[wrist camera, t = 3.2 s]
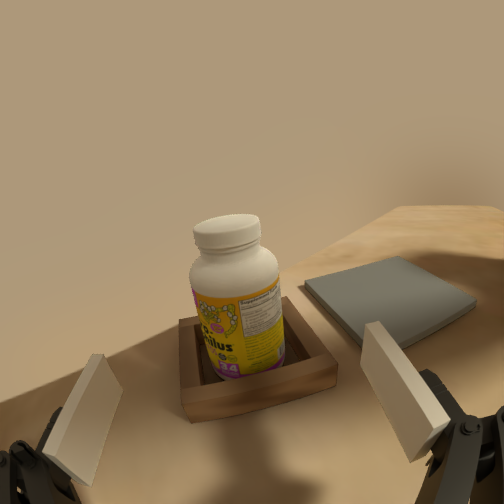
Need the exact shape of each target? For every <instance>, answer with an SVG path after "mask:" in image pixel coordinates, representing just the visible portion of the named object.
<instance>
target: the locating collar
mask: <svg viewBox="0 0 504 504" xmlns="http://www.w3.org/2000/svg"><path fill="white" fill-rule="evenodd" d="M281 305H282V316H283V328H284V335H285V336H286V338H287V340H288V342H289V343H290V345H291V347H292V348H293V350H294V352H295V353H296V355H297V357H298V358H299V360H300V362H297V363H294V364H291V365H287V366H284V367H280V368H277V369H273V370H269V371H265V372H261V373H258V374H254V375H249V376H245V377H241V378H237V379H232V380H228V381H223V382H218V383H213V384H208V385H205V382H204V375H203V368H202V361H201V353H200V346H199V344H204V343H205V340H204V336H203V332H202V329H201V325H200V321H199V317H198V316H195V317H190V318H184V319H179V360H180V385H181V403H182V406H183V408H184V410H185V412H186V414H187V416H188V418H189V420H190V422H191V423H197V422H203V421H209V420H215V419H220V418H225V417H230V416H235V415H239V414H243V413H248V412H252V411H256V410H260V409H264V408H268V407H271V406H275V405H278V404H282V403H285V402H289V401H292V400H295V399H298V398H301V397H304V396H307V395H310V394H313V393H316V392H319V391H322V390H325V389H328V388H330V387H333V386H336V379H337V369H338V363H337V362H336V360H335V359H334V358H333V357H332V355H331V354H330V353H329V351H328V350H327V349H326V347H325V346H324V345H323V343H322V342H321V341H320V339H319V338H318V337H317V335H316V334H315V333H314V332H313V330H312V329H311V328H310V326H309V325H308V324H307V322H306V321H305V320H304V318H303V317H302V316H301V314H300V313H299V312H298V310H297V309H296V308H295V307H294V305H293V304H292V303H291V301H290V300H289V299H288V297H287V296H285V297H281Z"/></svg>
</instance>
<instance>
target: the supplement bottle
mask: <svg viewBox="0 0 504 504" xmlns="http://www.w3.org/2000/svg"><path fill="white" fill-rule="evenodd" d="M193 233H194V239H195V244H196V245H197V246H198V249H199V250H200V253H201V256H200V257H198V258H197V259H196V261H195V262H194V263H193V264H192V267H191V269H190V273H189V279H190V284H191V288H192V292H193V296H194V300H195V304H196V309H197V313H198V317H199V321H200V325H201V329H202V332H203V336H204V340H205V343H206V347H207V351H208V354H209V358H210V361H211V364H212V367H213V369H214V371H215V372H216V373H217V375H218V376H220V377H221V378H222V379H224V380H226V381H228V380H232V379H237V378H241V377H245V376H249V375H254V374H258V373H261V372H265V371H269V370H273V369H277V368H280V367H282V365H283V363H284V360H285V341H284V328H283V316H282V305H281V293H280V281H279V269H278V263H277V260H276V258H275V256H274V255H273V254H272V253H271V252H270V251H269V250H267V249H266V248H264V247H261V246H260V245H259V240H260V236H261V228H260V221H259V218H258V217H257V216H255V215H251V214H233V215H226V216H220V217H216V218H212V219H209V220H206V221H203V222H201V223H198V224H197V225H195V227H194V228H193Z"/></svg>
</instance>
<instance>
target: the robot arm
mask: <svg viewBox="0 0 504 504" xmlns="http://www.w3.org/2000/svg"><path fill="white" fill-rule="evenodd" d="M360 366H361V368H362V370H363V372H364V373H365V375H366V377H367V379H368V381H369V383H370V385H371V387H372V388H373V390H374V392H375V394H376V396H377V398H378V400H379V402H380V404H381V406H382V408H383V409H384V411H385V413H386V415H387V417H388V419H389V421H390V423H391V425H392V427H393V429H394V431H395V433H396V435H397V437H398V439H399V441H400V443H401V445H402V447H403V449H404V452H405V454H406V456H407V458H408V460H409V462H410V463H411V462H413V461H416V460H418V459H420V458H422V457H424V456H426V454H427V453H428V452H429V451H430V449H431V451H432V453H433V455H432V456H431V458H430V459H429V460H428V461H427V463H426V465H425V466H428V465H429V467H428V470H427V473H426V476H425V479H424V482H423V484H422V487H421V490H420V492H419V495H418V497H417V499H416V502H415V504H468V502H469V498H470V504H504V406H502V407H501V408H500V409H499V410H498V411H497V413H496V414H495V415H491V416H488V417H484V418H479V419H478V418H477V417H476V416H473V415H466V414H465V413H464V411H463V410H462V409H461V407H460V406H459V405H458V403H457V402H456V400H455V399H454V398H453V396H452V395H451V394H450V392H449V391H447V388H446V387H445V385H444V384H442V381H441V380H440V379H439V378H438V376H437V375H436V374H435V373H433V372H431V371H430V370H428V369H425V370H423V371H420V372H417V370H416V369H415V368H414V366H413V365H412V363H411V362H410V361H409V359H408V358H407V357H406V355H405V354H404V353H403V351H402V350H401V349H400V347H399V346H398V345H397V343H396V342H395V341H394V339H393V338H392V337H391V336H390V334H389V333H388V332H387V330H386V329H385V328H384V326H383V325H382V324H381V323H380V321H376V322H372V323H368V324H365V331H364V339H363V347H362V354H361V361H360ZM122 393H123V389H122V387H121V386H120V384H119V382H118V380H117V379H116V377H115V375H114V373H113V371H112V369H111V368H110V366H109V364H108V362H107V360H106V358H105V356H104V354H92V356H91V358H90V359H89V361H88V363H87V364H86V366H85V368H84V370H83V371H82V373H81V375H80V377H79V379H78V380H77V382H76V384H75V386H74V388H73V389H72V391H71V393H70V395H69V397H68V399H67V401H66V403H65V405H64V407H59V408H58V409H57V410H56V411H55V412H54V413H53V415H52V417H51V419H50V423H48V425H47V427H46V428H47V429H45V431H44V433H43V435H42V437H41V439H40V442H39V444H38V446H37V448H36V450H35V451H34V450H33V449H32V448H31V447H30V446H29V445H28V444H27V443H26V442H25V441H22V440H19V441H16V442H14V443H13V444H12V445H11V446H10V449H9V454H8V453H7V452H6V451H0V504H82V503H81V501H80V499H79V497H78V495H77V493H76V490H75V488H74V486H73V484H72V483H71V482H70V480H71V478H72V479H74V480H75V481H76V482H78V483H79V484H83V485H86V486H89V487H92V484H93V480H94V477H95V473H96V470H97V466H98V463H99V460H100V457H101V453H102V450H103V447H104V444H105V441H106V438H107V435H108V432H109V429H110V426H111V423H112V421H113V418H114V415H115V412H116V409H117V407H118V404H119V401H120V398H121V396H122ZM429 463H430V464H429ZM17 487H19V488H20V489H21V493H19V492H18V491H17Z"/></svg>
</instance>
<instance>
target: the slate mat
mask: <svg viewBox="0 0 504 504" xmlns="http://www.w3.org/2000/svg"><path fill="white" fill-rule="evenodd" d="M305 288H306V289H307V290H308V291H309V292H310V293H311V294H312V295H313V296H314V298H315V299H316V300H317V301H318V302H319V303H320V304H321V305H322V306H323V307H324V308H325V309H326V310H327V311H328V312H329V314H330V315H331V316H332V317H333V318H334V319H335V320H336V321H337V322H338V323H339V324H340V325H341V326H342V327H343V329H344V330H345V331H346V332H347V333H348V334H349V335H350V336H351V337H352V338H353V339H354V340H355V341H356V343H357V344H358V345H359V346H360V347H361V348H362V347H363V339H364V331H365V324H368V323H372V322H376V321H380V323H381V324H382V325H383V326H384V328H385V329H386V330H387V332H388V333H389V334H390V336H391V337H392V338H393V339H394V341H395V342H396V343H397V345H398V346H399V347H400V349H401V350H402V349H404V348H406V347H408V346H410V345H412V344H414V343H415V342H417V341H419V340H421V339H423V338H425V337H427V336H428V335H430V334H432V333H434V332H436V331H437V330H439V329H441V328H442V327H444V326H446V325H448V324H449V323H451V322H452V321H454V320H456V319H457V318H459V317H461V316H462V315H464V314H465V313H467V312H468V311H470V310H471V309H473V308H474V307H475V306H476V302H477V299H475V298H474V297H472V296H470V295H468V294H467V293H465V292H463V291H462V290H460V289H458V288H456V287H455V286H453V285H451V284H449V283H447V282H446V281H444V280H442V279H440V278H438V277H437V276H435V275H433V274H431V273H429V272H427V271H426V270H424V269H422V268H420V267H418V266H416V265H414V264H412V263H410V262H409V261H407V260H405V259H403V258H401V257H399V256H396V257H392V258H389V259H385V260H381V261H378V262H374V263H370V264H367V265H363V266H359V267H356V268H352V269H348V270H344V271H340V272H337V273H333V274H329V275H325V276H321V277H317V278H313V279H309V280H305Z"/></svg>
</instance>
